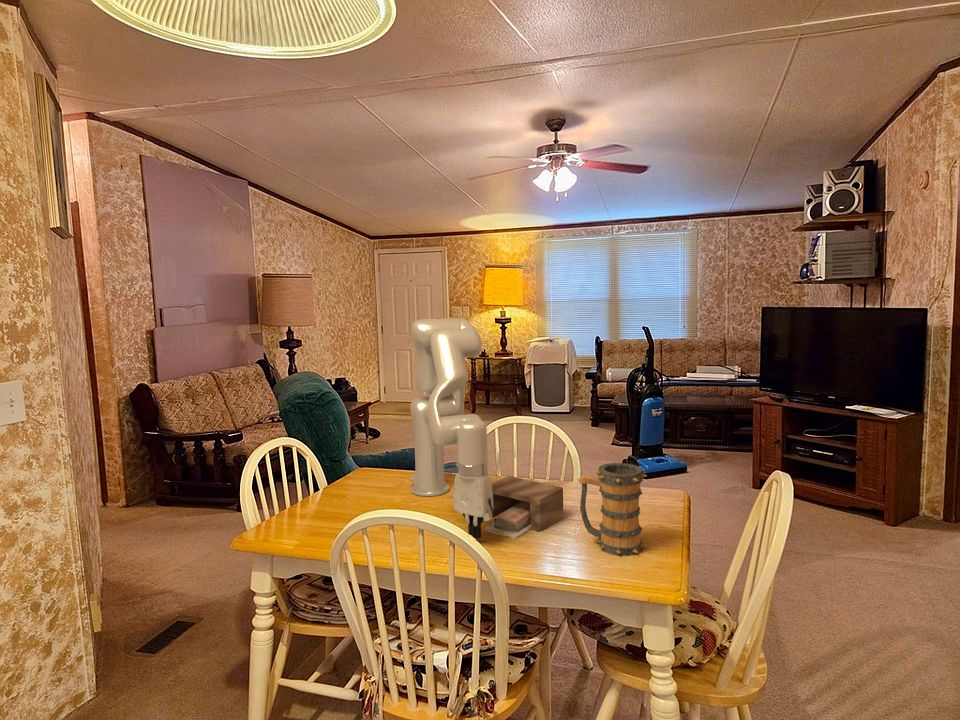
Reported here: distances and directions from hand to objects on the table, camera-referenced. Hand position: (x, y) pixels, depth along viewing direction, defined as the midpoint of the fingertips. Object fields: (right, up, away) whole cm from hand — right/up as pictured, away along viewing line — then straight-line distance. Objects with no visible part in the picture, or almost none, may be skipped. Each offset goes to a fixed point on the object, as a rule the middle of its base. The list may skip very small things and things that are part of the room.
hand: (475, 538), depth 151 cm
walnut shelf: (+14, +1, +17) cm, 22 cm away
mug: (+34, -1, -4) cm, 35 cm away
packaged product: (+12, 0, +12) cm, 17 cm away
